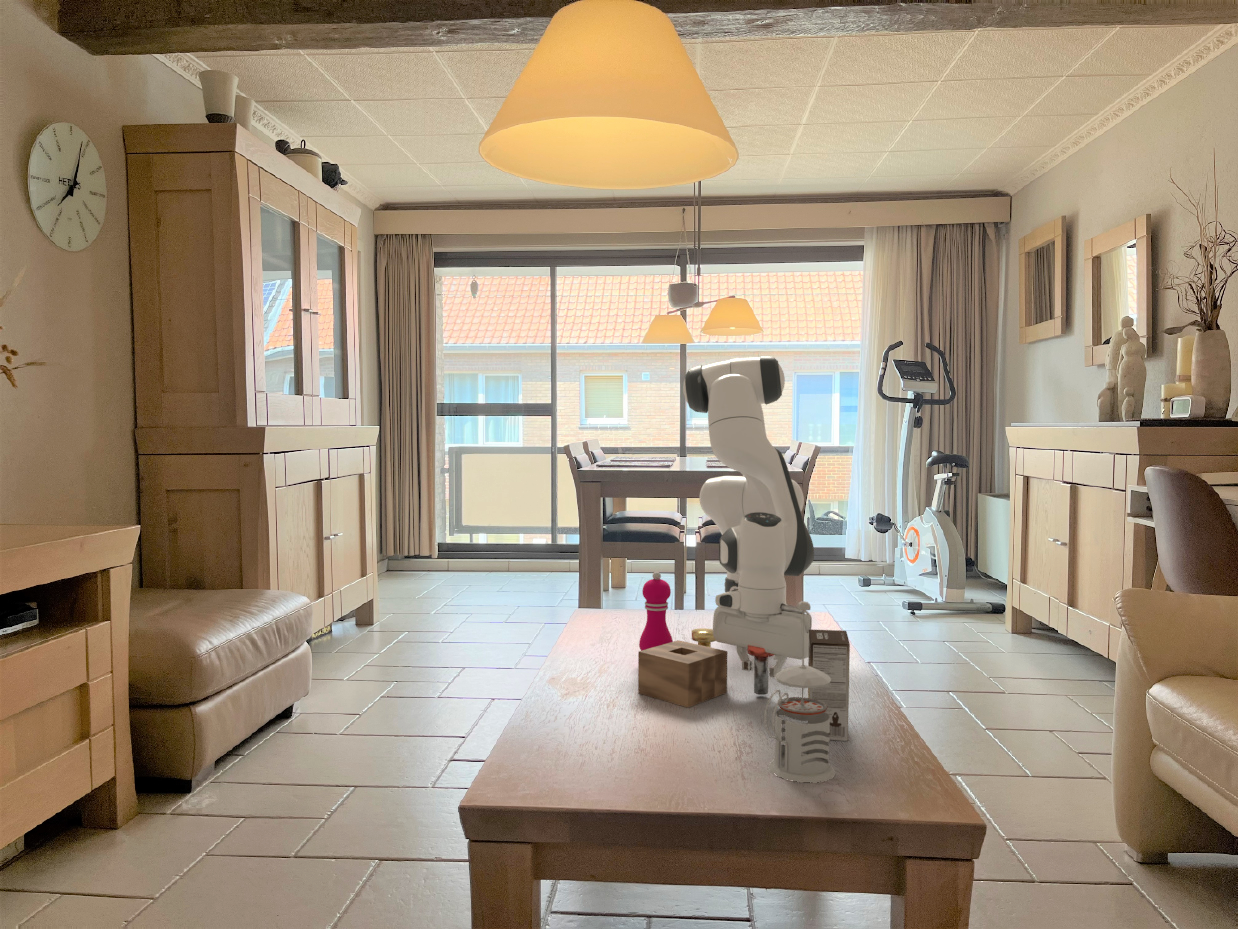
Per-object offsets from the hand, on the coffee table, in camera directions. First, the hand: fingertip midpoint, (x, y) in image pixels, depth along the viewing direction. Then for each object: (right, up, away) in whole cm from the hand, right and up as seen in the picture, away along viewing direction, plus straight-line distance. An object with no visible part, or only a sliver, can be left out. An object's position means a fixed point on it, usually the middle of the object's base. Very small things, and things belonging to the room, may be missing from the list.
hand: (761, 673), depth 157 cm
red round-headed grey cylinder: (0, -4, 0) cm, 4 cm away
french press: (0, -6, -34) cm, 35 cm away
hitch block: (-15, -4, +2) cm, 15 cm away
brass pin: (-9, -4, +14) cm, 17 cm away
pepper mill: (-19, -4, +21) cm, 29 cm away
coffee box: (+8, -5, -17) cm, 20 cm away
